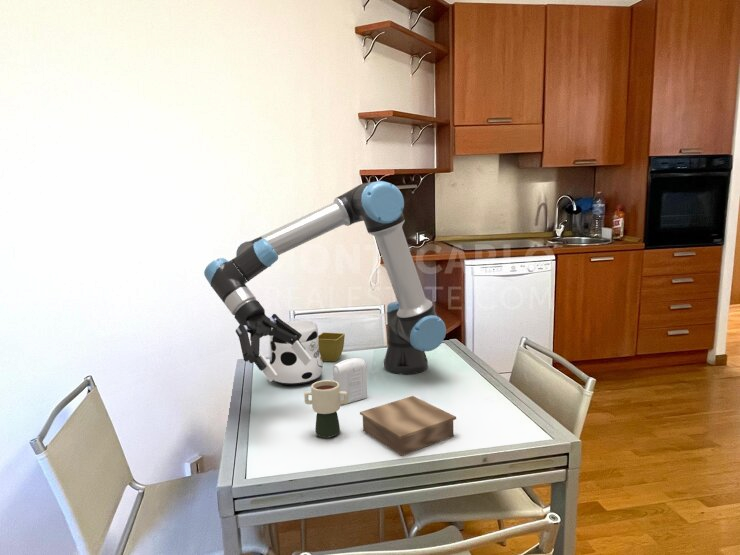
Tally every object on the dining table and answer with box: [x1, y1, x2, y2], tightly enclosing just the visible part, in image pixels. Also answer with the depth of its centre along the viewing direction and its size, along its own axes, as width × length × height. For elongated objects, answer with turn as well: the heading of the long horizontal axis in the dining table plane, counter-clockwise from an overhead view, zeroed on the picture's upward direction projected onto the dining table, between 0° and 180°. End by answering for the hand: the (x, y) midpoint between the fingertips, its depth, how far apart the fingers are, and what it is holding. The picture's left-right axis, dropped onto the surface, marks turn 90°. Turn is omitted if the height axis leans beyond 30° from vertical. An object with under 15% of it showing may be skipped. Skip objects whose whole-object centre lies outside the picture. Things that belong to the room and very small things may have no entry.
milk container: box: [268, 320, 323, 386], centre depth 169 cm, size 17×17×18 cm
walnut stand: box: [359, 395, 457, 456], centre depth 129 cm, size 17×17×5 cm
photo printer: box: [332, 357, 368, 406], centre depth 151 cm, size 10×4×12 cm, turn 123°
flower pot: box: [318, 332, 346, 362], centre depth 189 cm, size 9×9×9 cm
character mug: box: [303, 379, 349, 438], centre depth 130 cm, size 11×7×13 cm, turn 85°
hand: (292, 370), depth 134 cm, fingers open, 13 cm apart
